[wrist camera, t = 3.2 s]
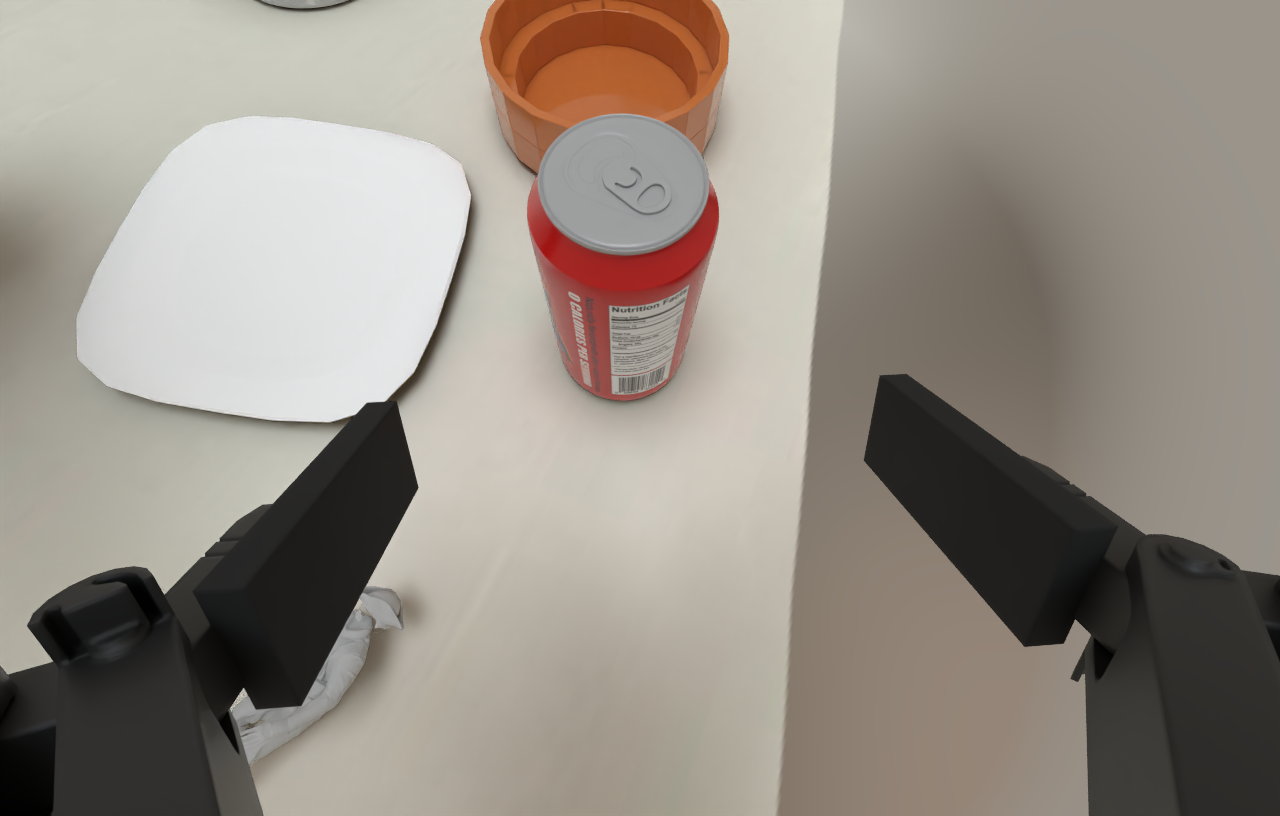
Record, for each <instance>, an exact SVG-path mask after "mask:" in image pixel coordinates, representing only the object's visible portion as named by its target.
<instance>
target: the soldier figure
mask: <svg viewBox="0 0 1280 816" xmlns="http://www.w3.org/2000/svg"><path fill="white" fill-rule="evenodd" d="M360 600H361V601H362V602H363V603H364V606H365V608H366V609H367V611H368V612H369V613H370V614H371V615H372V616H373V617H374V619H375V620H376V624H375V628H382V629H389V628H390V627H391V626H394V627H396V628H398V629H401V630H403V629H404V623H403V608H402V605H401V600H400V599H399V597H398V595H397V594H396V593H395V592H394V591H393V590H392V589H388V588H380V587H365V589H364V590H363V592H362V594H361V596H360ZM363 603H362V604H363ZM361 606H362V605H361ZM362 613H364V612H362ZM362 613H361V611H360V608H359V610H354V611H352V613H351V615H350V617H349V618H348V620H347V622H346V624H345V626H344V628H343V630H342V631H341V633H340V635H339V637H338V639H337V641H336V643H335V644H334V646H333V648H332V650H331V652H330V654H329V656H328V658H327V659H326V661H325V663H324V665H323V667H322V669H321V671H320V672H319V674H318V676H317V678H316V680H315V682H314V684H313V686H312V687H311V689H310V691H309V693H308V695H307V697H306V699H305V700H304V702H303V704H302V706H297V707H285V708H272V709H260V710H256V709H255V707H254V705H253V704H252V702H251V700H250V698H249V696H247V697H246V698H244V699H243V700H242V701H241V702H240V703H239V704H238V705H237V706H236V707H234V708H233V711H232V715H233V716H234V718H235V720H236V722H237V725H238V729H239V732H240V736H241V739H242V743H243V746H244V750H245V753H246V756H247V760H248V763H249V765H251V764H252V762H254V761H256V760H259V759H261V758H263V757H265V756H266V755H268V754H270V753H271V752H272V751H274V750H275V749H277V748H278V747H280V746H282V745H284V744H285V743H287V742H288V741H289V740H291V739H293V738H295V737H296V736H298V735H299V734H300V733H302V732H303V731H304V730H305V729H306V728H307V727H309V726H310V725H311V724H312V723H314V722H315V721H316V720H319V719H320V718H321V717H322V715H323V714H324V713H326V712H327V711H330V710H331V709H333V708H334V707H335V706H336V705H337V704H338V703H339V702H340V700H341V699H342V696H343V694H344V693H345V691H346V690H347V689H348V688H349V687H350V686H351V684H352V683H353V681H354V680H355V677H356V676H357V675H358V674H359V672H360V669H361V668H362V667H363V664H364V663H365V660H366V655H367V651H368V648H369V642H370V632H371V629H372V626H373V622H372V618H371V617H370V616H367V615H362ZM373 628H374V627H373ZM385 631H386V630H385ZM373 632H374V631H373ZM380 632H381V631H380ZM382 632H384V631H382ZM374 633H376V632H374ZM258 720H263V721H264V722H262V723H261V724H259V725H257V726H256V727H253V728H250V729H247V728H248V726H249V723H251V724H253V723H256V722H257V721H258ZM248 733H250V734H248ZM245 734H248V735H246V736H243V735H245Z"/></svg>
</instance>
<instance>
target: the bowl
mask: <svg viewBox="0 0 1280 816" xmlns="http://www.w3.org/2000/svg"><path fill="white" fill-rule="evenodd" d="M480 41H481V46H482V52H483V58H484V63H485V68H486V72H487V76H488V80H489V83H490V87H491V91H492V95H493V99H494V102H495V107H496V110H497V114H498V118H499V122H500V126H501V130H502V134H503V136H504V138H505V139H506V141H507V142H508V144H509V145H510V147H511V148H512V150H513V151H514V153H515V154H516V156H517V158H518V159H519V160H520V161H522V162H523V163H524V164H526V165H527V166H528V167H530V168H531V169H532V170H533V171H535V172H536V173H537V174H538V173H539V168H540V164H541V161H542V159H543V157H544V155H545V153H546V151H547V150H548V148H549V147H550V145H551V144H552V143H553V142H554V141H555V140H556V139H557V138H558V137H559V136H560V135H561V134H562V133H563V132H565V131H566V130H567V129H569V128H571V127H572V126H574V125H576V124H578V123H580V122H582V121H584V120H587V119H590V118H593V117H597V116H602V115H608V114H635V115H642V116H646V117H650V118H653V119H656V120H659V121H661V122H664V123H666V124H668V125H670V126H672V127H673V128H675V129H677V130H678V131H679V132H681V133H682V134H683V135H685V136H686V137H687V138H688V139H689V140H690V141H691V142H692V143H693V144H694V145H695V147H696V148H697V149H698V151H699V152H700V154H702V153H703V151H704V149H705V147H706V145H707V143H708V141H709V139H710V137H711V135H712V133H713V131H714V128H715V123H716V118H717V113H718V108H719V103H720V98H721V94H722V89H723V84H724V79H725V74H726V69H727V64H728V50H729V34H728V31H727V28H726V26H725V23H724V21H723V18H722V15H721V13H720V10H719V9H718V7H717V6H716V5H715V4H714V2H713V1H712V0H495V1H494V3H493V4H492V5H491V7H490V8H489V9H488V11H487V14H486V18H485V22H484V26H483V29H482V33H481V37H480Z"/></svg>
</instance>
